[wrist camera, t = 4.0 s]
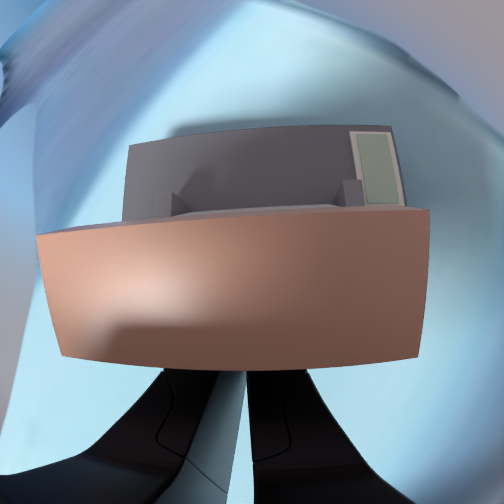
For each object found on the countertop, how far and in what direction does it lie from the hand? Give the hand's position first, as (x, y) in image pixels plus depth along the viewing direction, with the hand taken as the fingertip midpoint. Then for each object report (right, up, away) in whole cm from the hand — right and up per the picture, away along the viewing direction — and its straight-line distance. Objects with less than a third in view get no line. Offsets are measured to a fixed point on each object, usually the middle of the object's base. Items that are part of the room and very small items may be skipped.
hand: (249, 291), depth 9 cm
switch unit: (+1, +2, +9) cm, 9 cm away
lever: (0, +2, +6) cm, 6 cm away
